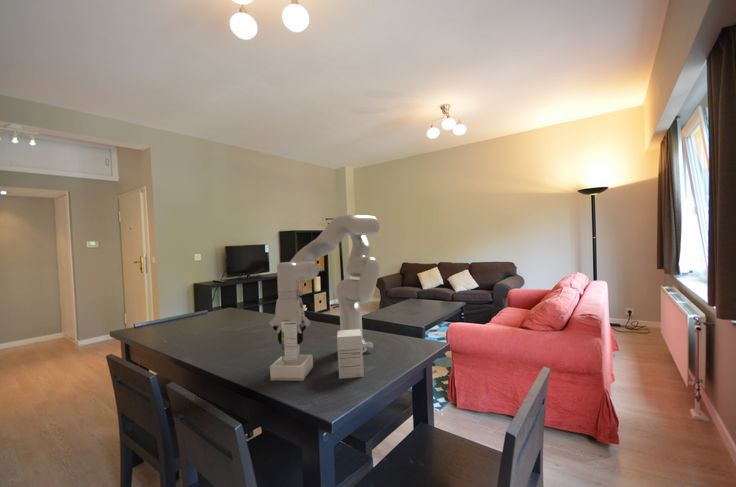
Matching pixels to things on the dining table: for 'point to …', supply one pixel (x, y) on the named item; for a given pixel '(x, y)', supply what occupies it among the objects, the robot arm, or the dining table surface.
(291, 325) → the syrup box
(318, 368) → the dining table surface
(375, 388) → the dining table surface
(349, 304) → the robot arm
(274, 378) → the box
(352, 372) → the supplement box
